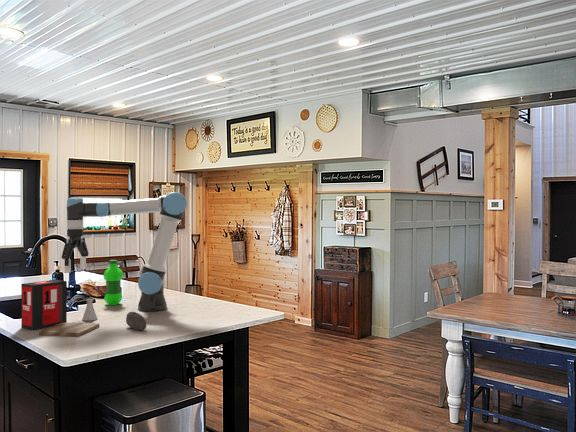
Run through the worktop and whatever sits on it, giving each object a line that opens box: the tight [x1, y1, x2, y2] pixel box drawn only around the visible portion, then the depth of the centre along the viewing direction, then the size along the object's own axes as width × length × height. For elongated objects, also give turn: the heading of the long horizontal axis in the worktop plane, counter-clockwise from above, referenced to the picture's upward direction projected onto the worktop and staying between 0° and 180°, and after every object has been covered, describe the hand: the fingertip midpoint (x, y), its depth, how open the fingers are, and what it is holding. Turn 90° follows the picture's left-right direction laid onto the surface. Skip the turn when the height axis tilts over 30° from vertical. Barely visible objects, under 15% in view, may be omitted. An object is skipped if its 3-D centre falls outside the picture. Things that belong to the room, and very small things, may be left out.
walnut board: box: [38, 322, 100, 337], centre depth 222 cm, size 18×18×2 cm
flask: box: [81, 298, 98, 322], centre depth 245 cm, size 7×7×10 cm
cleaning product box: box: [20, 279, 68, 331], centre depth 231 cm, size 16×9×20 cm, turn 148°
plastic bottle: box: [103, 259, 124, 306], centre depth 285 cm, size 10×10×25 cm
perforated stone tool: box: [125, 311, 147, 331], centre depth 226 cm, size 15×5×7 cm, turn 41°
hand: (75, 270), depth 252 cm, fingers open, 13 cm apart
